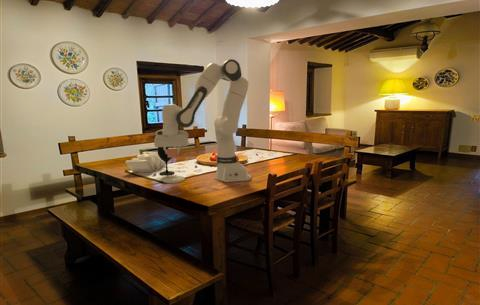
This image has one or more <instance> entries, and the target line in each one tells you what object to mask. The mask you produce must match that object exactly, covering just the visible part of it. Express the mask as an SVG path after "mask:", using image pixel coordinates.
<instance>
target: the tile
mask: <svg viewBox="0 0 480 305" xmlns="http://www.w3.org/2000/svg"><path fill="white" fill-rule="evenodd" d="M162 181H163V182H162ZM184 181H185V176H183V175H167V176H164V177H162V178H161V182H162V183H166V184H176V183H181V182H184Z"/></svg>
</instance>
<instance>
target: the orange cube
mask: <svg viewBox="0 0 480 305" xmlns="http://www.w3.org/2000/svg"><path fill="white" fill-rule="evenodd" d="M176 151H178V147H173V148H168V149H167V155H168V158H170V157H172V158H177V157H178V154H176Z"/></svg>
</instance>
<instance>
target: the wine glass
mask: <svg viewBox="0 0 480 305" xmlns="http://www.w3.org/2000/svg"><path fill="white" fill-rule="evenodd" d="M168 148H174V147H166V150H167V149H168ZM157 152H158V155H159V157H160V158H161V159H162V160H163V161H165V170H164V171H161V172H159V173H158V174H160V176H163V175H167V176H173V175H175V174H176V173H175V171H171V170H169V169H168V163H169V161H170V160H172V158H173V157H170V158H168V155H167V154H166V152H165V150H164V149H163V147H157ZM174 173H175V174H174ZM172 174H173V175H172Z"/></svg>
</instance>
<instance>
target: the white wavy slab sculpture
mask: <svg viewBox="0 0 480 305" xmlns="http://www.w3.org/2000/svg"><path fill="white" fill-rule="evenodd" d="M124 162H125V165H126V166H127V167H128V168H129V169H130V171H131V173H135V172H139V174H140V173H141V174H145V173H144V172H148V173H152V172H155V171H156V169H157V170H159V169H161V168H163V167H166V163H165V161H163V160H162V159H161V158H160V157H159V155H158V151H143V152H142V154H138V155H136V158H135V157H134V158H131V159H130V160H125V161H124Z"/></svg>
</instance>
